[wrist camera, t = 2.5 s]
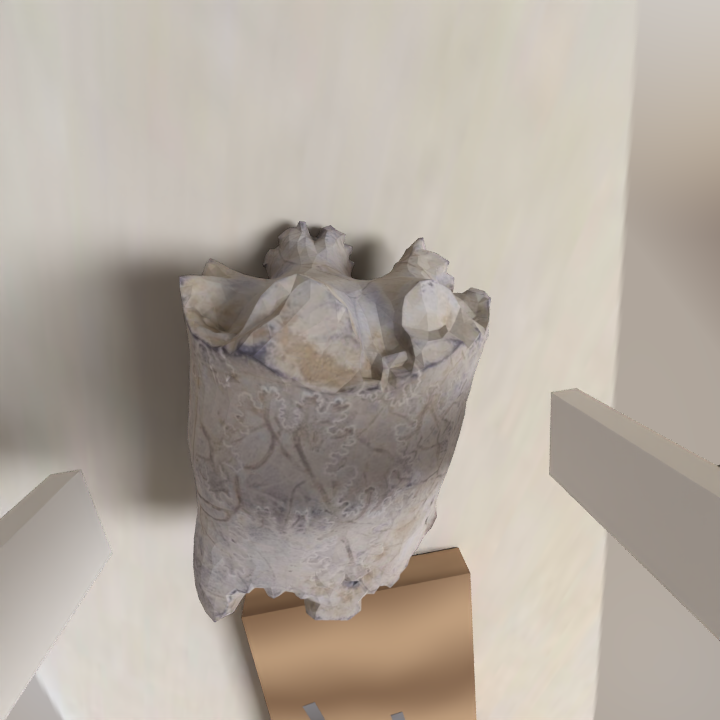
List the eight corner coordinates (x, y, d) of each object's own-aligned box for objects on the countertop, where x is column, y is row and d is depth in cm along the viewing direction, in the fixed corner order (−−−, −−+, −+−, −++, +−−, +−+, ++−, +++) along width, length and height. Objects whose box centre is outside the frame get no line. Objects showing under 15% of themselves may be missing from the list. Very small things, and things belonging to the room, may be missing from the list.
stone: (217, 511, 17) (161, 686, 10) (223, 214, 13) (144, 196, 7) (400, 514, 18) (452, 672, 12) (448, 243, 15) (562, 251, 8)
